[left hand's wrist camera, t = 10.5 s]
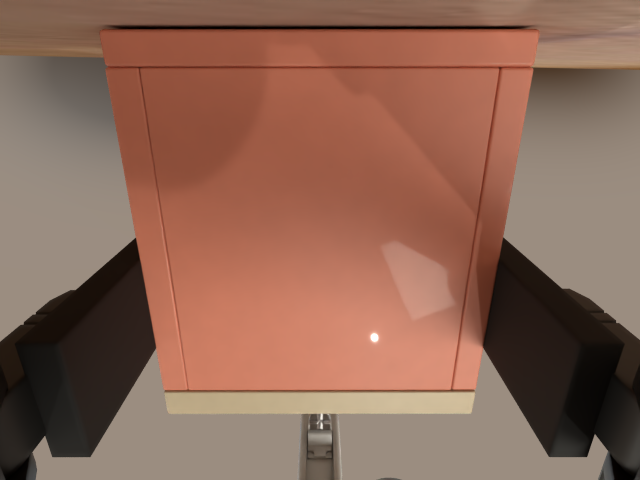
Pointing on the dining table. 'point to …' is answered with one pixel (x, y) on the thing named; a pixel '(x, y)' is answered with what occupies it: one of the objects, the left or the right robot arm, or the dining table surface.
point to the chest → (319, 199)
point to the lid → (320, 401)
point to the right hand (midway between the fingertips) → (320, 456)
